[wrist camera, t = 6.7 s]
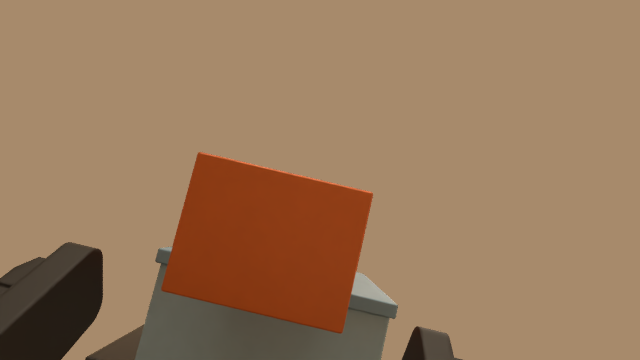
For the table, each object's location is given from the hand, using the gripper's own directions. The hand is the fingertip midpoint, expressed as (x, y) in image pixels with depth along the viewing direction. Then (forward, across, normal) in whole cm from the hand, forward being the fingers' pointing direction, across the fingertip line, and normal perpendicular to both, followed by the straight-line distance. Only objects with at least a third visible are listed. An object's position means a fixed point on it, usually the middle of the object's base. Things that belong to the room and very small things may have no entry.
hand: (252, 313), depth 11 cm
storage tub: (+9, 0, +11) cm, 14 cm away
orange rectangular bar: (+8, 0, +4) cm, 9 cm away
